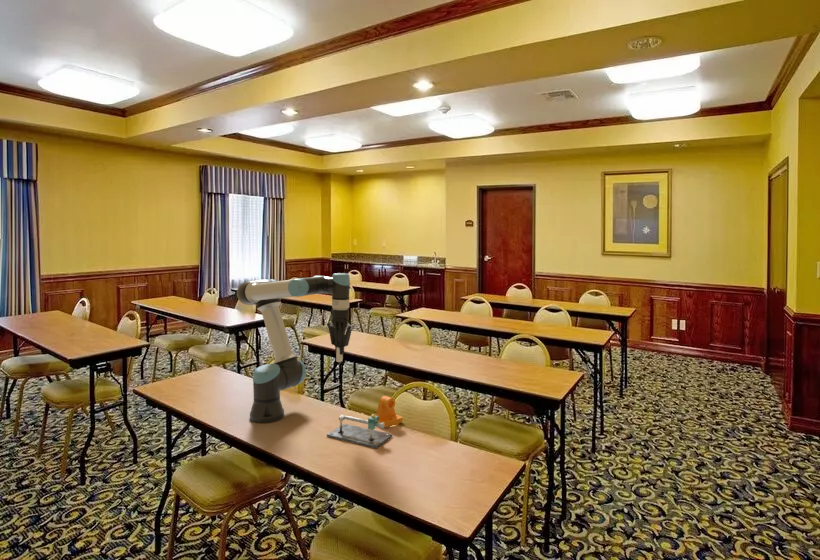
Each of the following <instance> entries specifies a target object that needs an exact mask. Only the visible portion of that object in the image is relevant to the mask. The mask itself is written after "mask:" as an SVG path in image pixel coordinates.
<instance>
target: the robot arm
mask: <svg viewBox="0 0 820 560" xmlns="http://www.w3.org/2000/svg"><path fill="white" fill-rule="evenodd" d="M350 281H351V280H350V274H349V273H347V272H346V273H345V272H342V273H341V272H337V273H333V274H332V275H331V276H325V275H314V276H312V277H302V278H301V277H298V278H296V277H295V278H291V279H287V280H286V279H285V280H275V279H273V278H271V279H270V278H269V279H268V278H264V279H257V280H254V279H253V280H247V281H244V282H242V283H241V284H240V285H239V286H238V287H237V289H236V297H237V298H238V301H239V302H241V303H242V304H243V305H248V306H256V309H257V311H260V313H261V315H262V318H263V322H264V325H265V329H266V333H267V336H268V340H269V343H270V346H271V349H272V353H273V357H274V360H273V362H272V363H268V364H262V365H260V366H258V367H257V368H255V369H254V371H253V373H252V374H253V377H252V381H253V383H252V385H253V402H252V406H251V408H250V409H251V411H249V420H250V421H251V422H253V423H259V424H265V423H267V424H268V423H273V422H277V421H280V420H282V419H283V418H284V417H285V409H284V408H283V405H282V401H281V391H284V390H287V389H290V388H292V387H296V386H298V385H300V384H301V383H303V382H304V380H305V378H306V375H307V368H306V365H305V364H304V362H303V361H302V360H300V359H298V357H297V355H295V354H294V353H293V349H292V346H291V344H290V340H289V337H288V333H287V330H286V327H285V322H284V318H283V316H282V312H281V309H280V306H281V304H282V301H281V300H282V299H285V298H294V297H298V298H299V297H300V298H301V297H305V296H312V295H320V294H327V295H328V294H329V295H331V307H332V309H331V317H332V318H331V321H330V322H327V323H326V326H327V327H328V332H329V338H330V342H331V345H332V346H335V347H334V353H335V354H336V355H335V356H336V357H335V358H336V359H335V360H336V362H337V363H341V362H343V359H344V354H345V348H346V347H347V346H349V344H350V343H349V342H350V340H351V339H350V338H351V335H352V330H353V329H354V325H351V324H350V320H349V317H350V310H349V308H350V287H351V282H350Z"/></svg>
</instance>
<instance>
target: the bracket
mask: <svg viewBox="0 0 820 560" xmlns="http://www.w3.org/2000/svg"><path fill="white" fill-rule="evenodd" d="M395 406H396V400H395V398H393V397H390V396H387V395H382V396H381V398H380V399H379V403H378V405H377V409H376V413H375V415H376V416H379V418H378V422H379V423H382V422H383V423H384V428H389V427H390V426H392V425H396V426H399V425H400V423H402V422H403V416H402V415H398V414H396V411H395Z"/></svg>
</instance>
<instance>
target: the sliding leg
mask: <svg viewBox="0 0 820 560" xmlns="http://www.w3.org/2000/svg"><path fill="white" fill-rule="evenodd" d="M378 418H379V416H376V413H375V414H374V413H372V414H371V416H369V417H368V418H367V420H368V424H367V429H370V439H372V430H375V428H376V426H375V422H378Z"/></svg>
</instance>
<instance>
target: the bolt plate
mask: <svg viewBox="0 0 820 560" xmlns="http://www.w3.org/2000/svg"><path fill="white" fill-rule="evenodd" d="M326 437H328V438H331V439H335V440H339V441H343V442H346V443H352V444H355V445H359V446H363V447H367V448H372V449H376V450H377V449H378V448H379V447H381V446H382V445H384V444H385V443H386V442H387V441H389V440H390V439H392V438H393V434H392V433H387V432H382V431H378V430H375V429H374V430H372V439H370V429H368V428H365V427H362V426H357V425H353V424H348V423H342V433H340V426H339V427H337V428H334V429H333V430H331V431H330V432H329V433H327V434H326ZM388 439H389V440H388Z"/></svg>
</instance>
